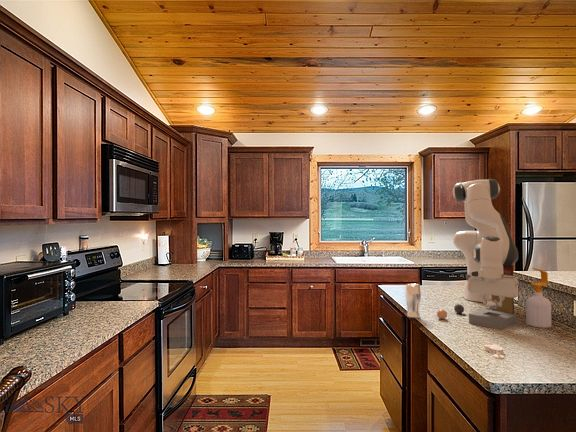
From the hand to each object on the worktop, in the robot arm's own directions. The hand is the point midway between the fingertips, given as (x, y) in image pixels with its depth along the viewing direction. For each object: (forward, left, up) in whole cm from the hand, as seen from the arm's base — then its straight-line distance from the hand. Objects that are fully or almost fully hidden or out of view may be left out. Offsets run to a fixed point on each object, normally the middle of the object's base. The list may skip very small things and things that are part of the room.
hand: (492, 305), depth 167 cm
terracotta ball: (+9, -18, -8) cm, 22 cm away
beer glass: (+15, -29, -8) cm, 34 cm away
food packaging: (-19, -3, -8) cm, 21 cm away
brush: (+36, +16, -9) cm, 41 cm away
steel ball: (0, 0, -2) cm, 2 cm away
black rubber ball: (-7, -18, -8) cm, 21 cm away
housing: (-1, 0, -8) cm, 8 cm away
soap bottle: (-13, +14, -8) cm, 20 cm away
